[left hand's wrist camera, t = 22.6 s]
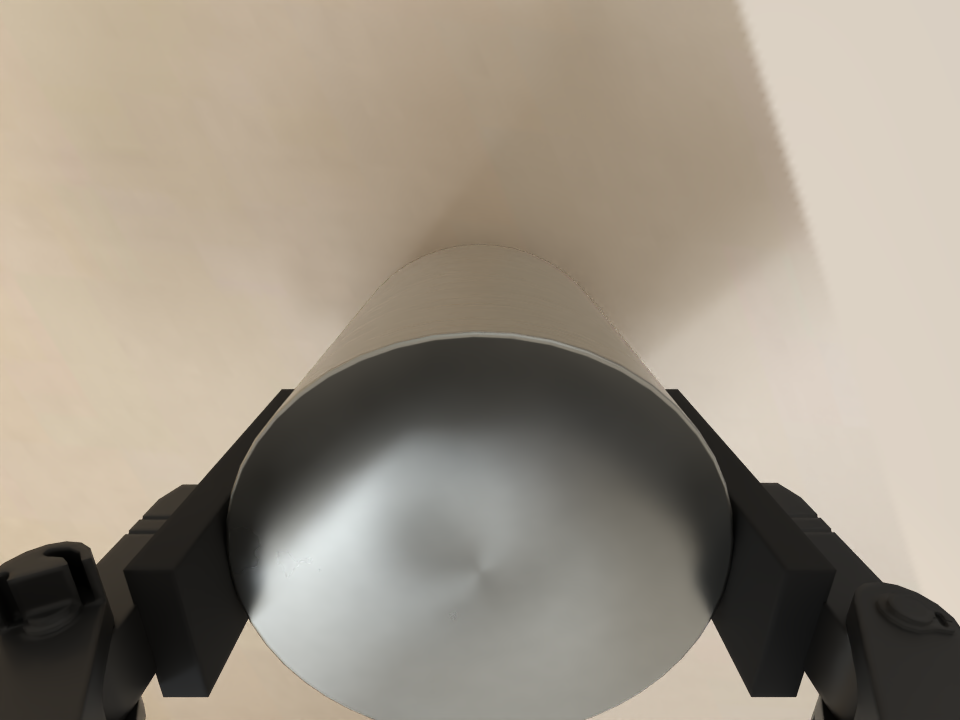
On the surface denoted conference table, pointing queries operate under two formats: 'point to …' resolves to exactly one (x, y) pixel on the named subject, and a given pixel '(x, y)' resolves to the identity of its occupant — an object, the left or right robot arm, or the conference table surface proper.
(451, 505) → the tin
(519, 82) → the conference table surface
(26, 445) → the conference table surface
